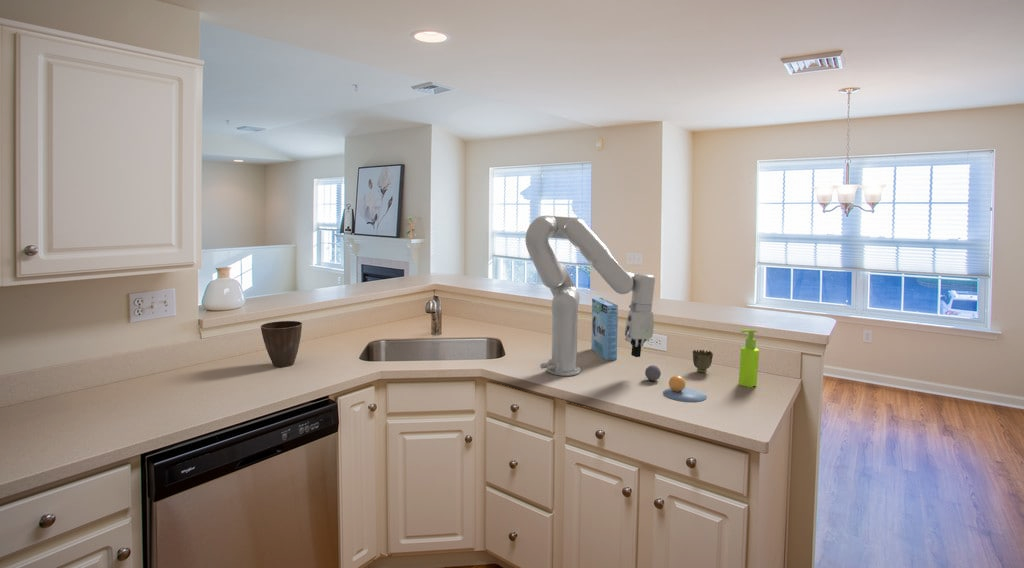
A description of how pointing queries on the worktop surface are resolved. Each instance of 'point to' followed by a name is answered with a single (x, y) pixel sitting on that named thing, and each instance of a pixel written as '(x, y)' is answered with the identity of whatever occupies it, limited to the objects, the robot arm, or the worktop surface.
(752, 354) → the soap dispenser
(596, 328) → the gum box
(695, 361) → the cup
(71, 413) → the worktop surface
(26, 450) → the worktop surface
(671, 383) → the object ball
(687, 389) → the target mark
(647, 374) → the grey sphere
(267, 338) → the plant pot
